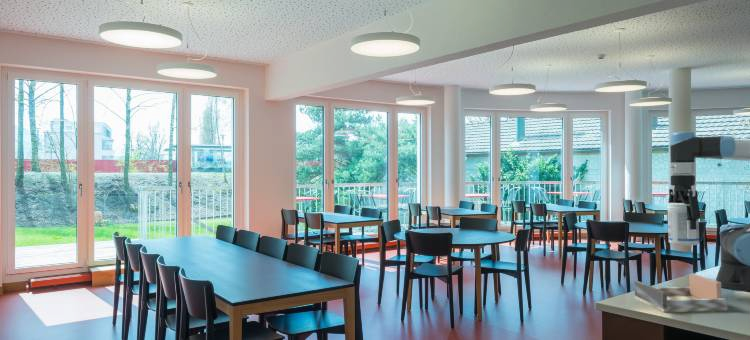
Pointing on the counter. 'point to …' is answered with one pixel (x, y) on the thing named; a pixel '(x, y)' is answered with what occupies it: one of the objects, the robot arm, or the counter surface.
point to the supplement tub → (680, 225)
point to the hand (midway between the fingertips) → (683, 236)
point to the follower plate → (704, 287)
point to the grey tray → (676, 299)
